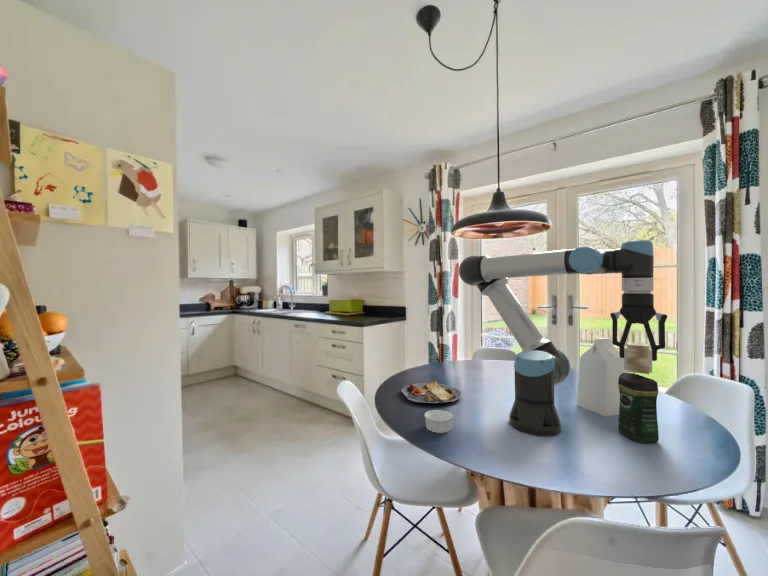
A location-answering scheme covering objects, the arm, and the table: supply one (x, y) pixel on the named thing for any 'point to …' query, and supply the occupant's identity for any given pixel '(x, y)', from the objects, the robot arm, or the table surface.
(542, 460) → the table surface
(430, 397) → the food plate
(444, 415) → the ramekin
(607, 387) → the milk
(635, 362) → the beech block
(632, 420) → the coffee jar
